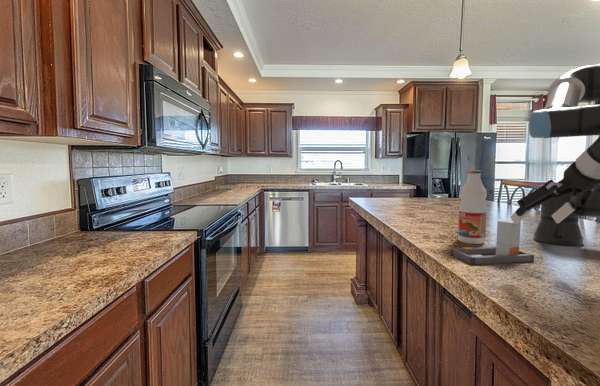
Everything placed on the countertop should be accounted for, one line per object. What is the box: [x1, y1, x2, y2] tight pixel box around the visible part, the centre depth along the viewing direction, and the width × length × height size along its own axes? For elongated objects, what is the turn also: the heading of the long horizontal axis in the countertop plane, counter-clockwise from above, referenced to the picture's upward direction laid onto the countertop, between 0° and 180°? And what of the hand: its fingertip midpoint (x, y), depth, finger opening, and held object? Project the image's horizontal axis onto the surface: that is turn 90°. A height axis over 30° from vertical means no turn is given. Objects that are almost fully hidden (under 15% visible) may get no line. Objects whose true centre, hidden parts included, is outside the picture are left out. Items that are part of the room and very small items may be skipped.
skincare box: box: [495, 219, 522, 256], centre depth 106 cm, size 6×4×12 cm
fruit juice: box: [457, 169, 488, 245], centre depth 126 cm, size 9×9×28 cm
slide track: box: [450, 245, 535, 266], centre depth 105 cm, size 21×11×2 cm, turn 97°
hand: (534, 220), depth 95 cm, fingers open, 13 cm apart
